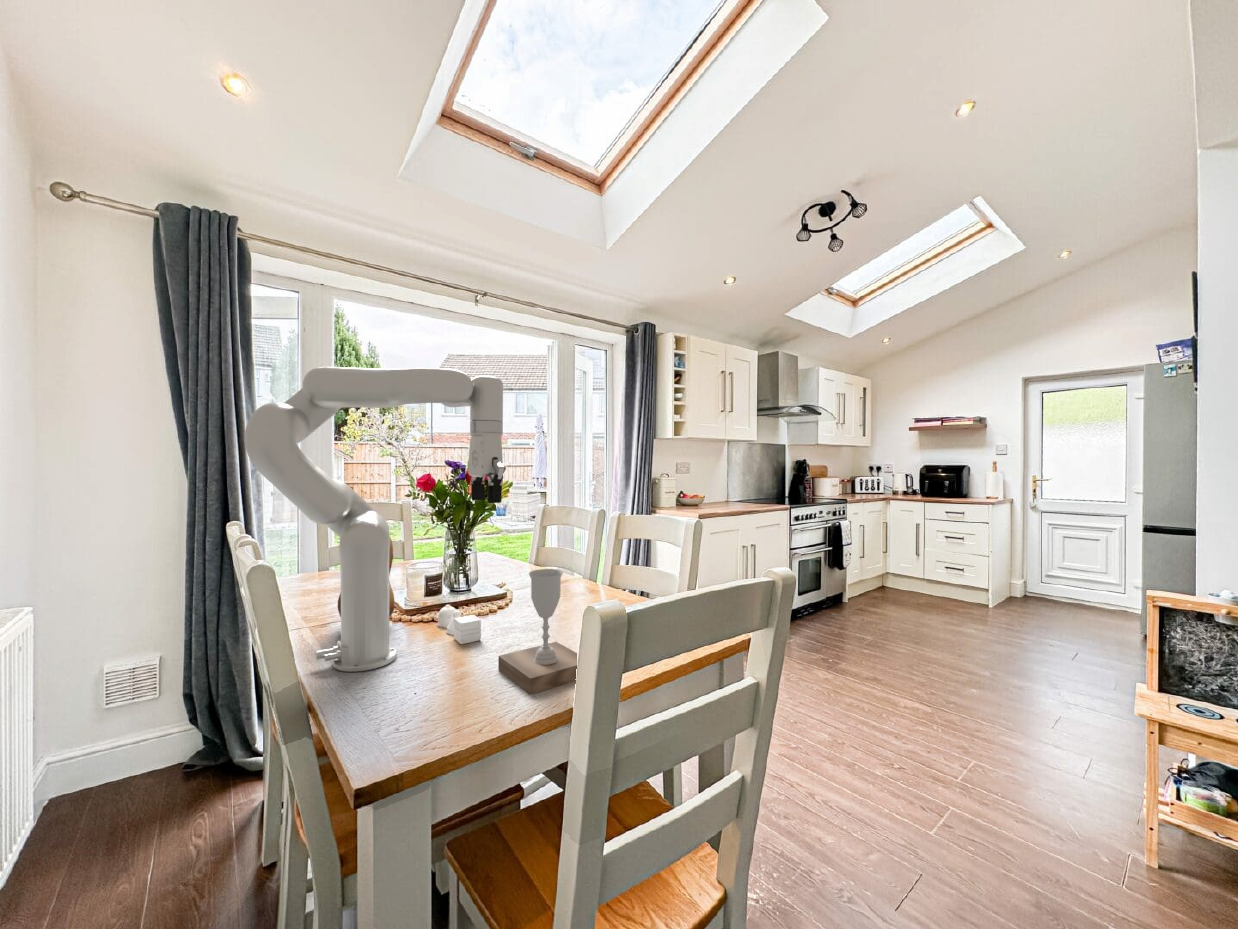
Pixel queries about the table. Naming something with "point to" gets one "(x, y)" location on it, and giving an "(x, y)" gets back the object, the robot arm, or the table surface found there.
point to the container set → (460, 625)
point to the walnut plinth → (539, 668)
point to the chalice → (545, 607)
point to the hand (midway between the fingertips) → (486, 501)
